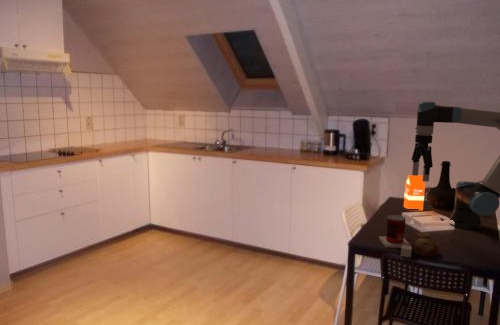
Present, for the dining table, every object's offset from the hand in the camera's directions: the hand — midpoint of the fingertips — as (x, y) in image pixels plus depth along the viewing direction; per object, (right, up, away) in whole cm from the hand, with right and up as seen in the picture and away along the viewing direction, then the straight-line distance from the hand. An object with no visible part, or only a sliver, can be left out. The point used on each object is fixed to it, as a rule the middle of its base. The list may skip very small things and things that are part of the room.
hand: (420, 178), depth 208 cm
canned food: (-17, -28, -13) cm, 35 cm away
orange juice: (+14, -20, +46) cm, 52 cm away
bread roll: (-7, -31, -23) cm, 40 cm away
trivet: (-17, -29, -13) cm, 36 cm away
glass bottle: (+33, -19, +50) cm, 63 cm away
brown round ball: (-5, -30, -14) cm, 33 cm away
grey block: (-17, -32, -28) cm, 45 cm away
